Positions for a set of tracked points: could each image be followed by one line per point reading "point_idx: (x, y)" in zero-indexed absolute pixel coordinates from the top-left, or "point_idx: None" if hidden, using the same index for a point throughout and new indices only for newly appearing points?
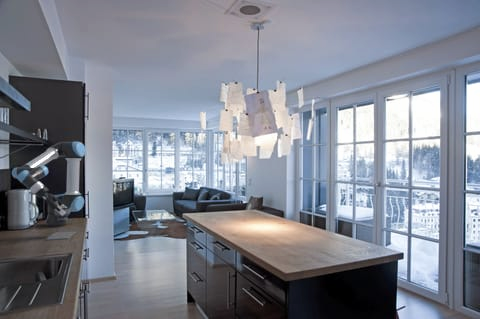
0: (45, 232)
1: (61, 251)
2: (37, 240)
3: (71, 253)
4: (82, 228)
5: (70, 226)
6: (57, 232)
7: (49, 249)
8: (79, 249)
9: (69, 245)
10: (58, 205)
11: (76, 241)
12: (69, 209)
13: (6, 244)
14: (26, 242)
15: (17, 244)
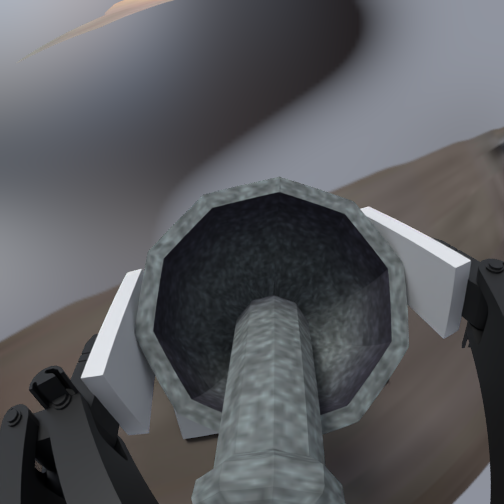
0: (162, 500)
1: (496, 185)
2: (390, 424)
3: (493, 151)
4: (58, 314)
5: (17, 404)
6: (184, 420)
7: (500, 238)
8: (462, 142)
9: (444, 190)
10: (284, 386)
11: (384, 190)
12: (279, 181)
13: (453, 496)
14: (430, 445)
15: (461, 451)
